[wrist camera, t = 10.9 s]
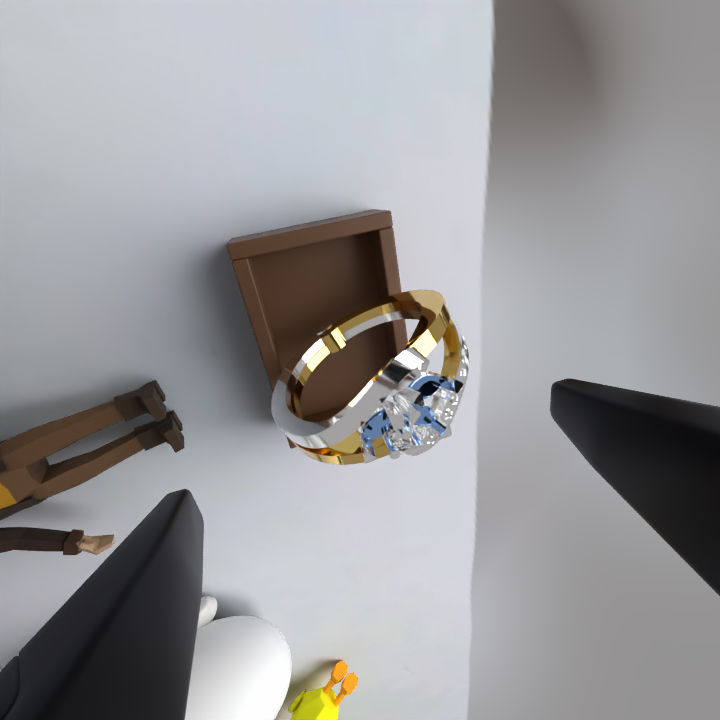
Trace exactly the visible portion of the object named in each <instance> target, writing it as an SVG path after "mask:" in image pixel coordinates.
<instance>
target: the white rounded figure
mask: <svg viewBox="0 0 720 720" xmlns="http://www.w3.org/2000/svg"><path fill="white" fill-rule="evenodd" d="M216 611H217V601H216V599H215V598H213V597H209V596H206V597H202V598H201V605H200V612H199V619H198V627H197V634H196V641H195V649H194V656H193V663H192V671H191V678H190V685H189V692H188V700H187V707H186V714H185V720H274V719H275V718H276V716H277V714H278V712H279V710H280V708H281V706H282V704H283V702H284V699H285V697H286V694H287V691H288V687H289V683H290V677H291V653H290V649H289V646H288V643H287V641H286V639H285V637H284V635H283V634H282V633H281V631H280V630H279V629H278V628H277V627H276V626H274V625H273V624H272V623H270V622H268V621H266V620H264V619H261V618H258V617H253V616H233V617H227V618H222V619H218V620H214V621H212V620H213V618H214V616H215V614H216Z"/></svg>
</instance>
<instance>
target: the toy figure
mask: <svg viewBox="0 0 720 720" xmlns="http://www.w3.org/2000/svg"><path fill="white" fill-rule="evenodd" d="M346 673H347V665H346V664H345V663H344V661H340V662H338V663H337V664H336V666H335V667H334V669H333V670H332V672H331V679H330V681H329V682H328V684H327V685H326V686H325V687H323V688H319V689H315V690H312V691H308V692H306V689H305V690H304V691H302V692H301V693H300V694H299V695H298V697H297V698H296V699H295V700H294V701H293V703H292V704H291V705H290V707H289V709H288V711H289V712H290V713H291V712H293V713H292V717H291V720H337V718H338V707H339V703H340V702H341V700H342V699H343V698H344V696H345V695H349V694H350V693H351V692H352V691H353V690H354V688H355V687H356V686H357V682H358V677H357V676H356V675H355V674H354V672H353V673H349V674H348V675H347V676H346V677H345V679H344V680H343V682H342V685H341V692H340V693H339V694H338V696H336V694H335V692H334V691H333V690H331V688H332V687H333V685H334V684H336V683H339V682H340V681H341V680H342V679H343V678H344V676H345V675H346Z"/></svg>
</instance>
